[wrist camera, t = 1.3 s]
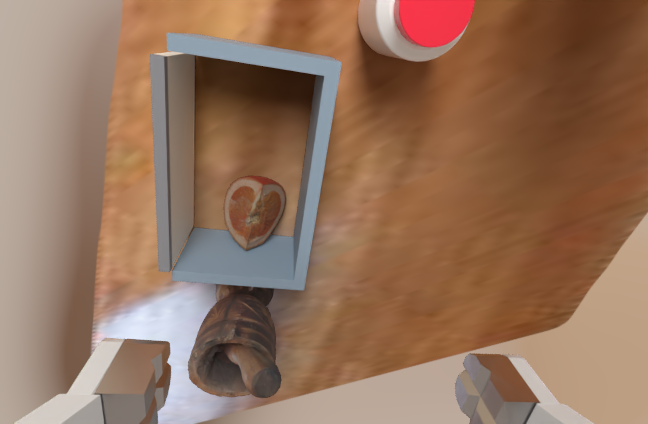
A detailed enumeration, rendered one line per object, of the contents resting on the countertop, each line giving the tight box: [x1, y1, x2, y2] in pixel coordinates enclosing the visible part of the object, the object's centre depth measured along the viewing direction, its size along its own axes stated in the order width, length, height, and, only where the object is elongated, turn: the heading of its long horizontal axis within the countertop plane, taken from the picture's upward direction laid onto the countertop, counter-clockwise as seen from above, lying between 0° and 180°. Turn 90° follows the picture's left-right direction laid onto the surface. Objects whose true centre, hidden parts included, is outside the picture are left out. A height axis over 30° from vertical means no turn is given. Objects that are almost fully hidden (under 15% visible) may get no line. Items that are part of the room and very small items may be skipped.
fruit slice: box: [224, 176, 286, 250], centre depth 41 cm, size 8×7×5 cm
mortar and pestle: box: [188, 284, 281, 398], centre depth 39 cm, size 12×9×20 cm
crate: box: [167, 33, 342, 290], centre depth 36 cm, size 22×13×9 cm, turn 171°
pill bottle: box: [358, 0, 475, 62], centre depth 31 cm, size 8×8×11 cm
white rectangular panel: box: [150, 52, 195, 272], centre depth 35 cm, size 19×1×10 cm, turn 171°
